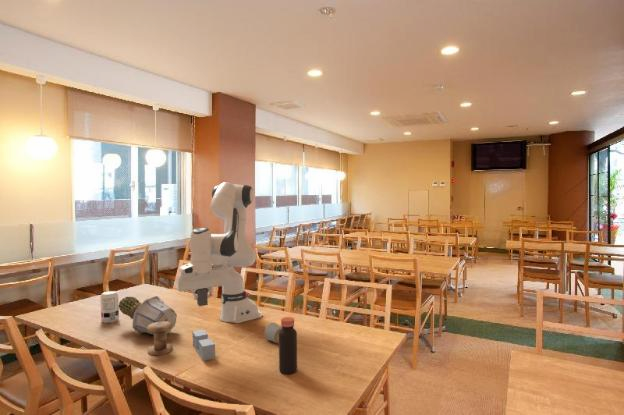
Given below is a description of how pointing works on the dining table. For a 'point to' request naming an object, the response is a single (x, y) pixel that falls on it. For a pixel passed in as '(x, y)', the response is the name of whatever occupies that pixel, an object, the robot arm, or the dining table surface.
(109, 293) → the supplement can
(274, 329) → the ceramic mug
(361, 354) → the dining table surface
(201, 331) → the gray stepped block
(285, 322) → the bottle
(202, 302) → the dark gray rectangular block
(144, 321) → the potted plant
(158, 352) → the wooden door knob
